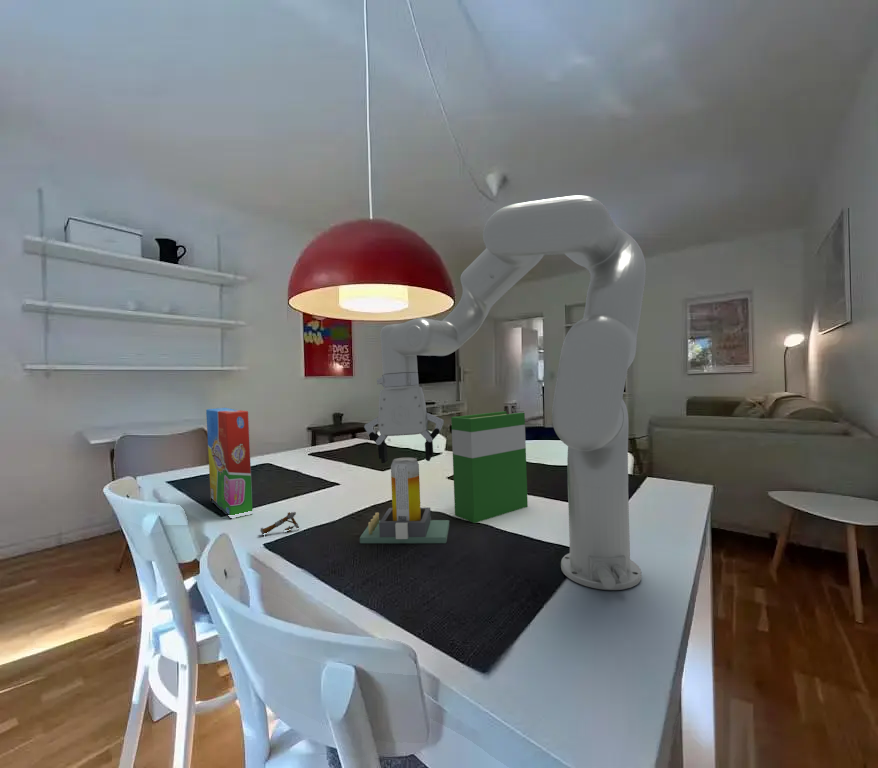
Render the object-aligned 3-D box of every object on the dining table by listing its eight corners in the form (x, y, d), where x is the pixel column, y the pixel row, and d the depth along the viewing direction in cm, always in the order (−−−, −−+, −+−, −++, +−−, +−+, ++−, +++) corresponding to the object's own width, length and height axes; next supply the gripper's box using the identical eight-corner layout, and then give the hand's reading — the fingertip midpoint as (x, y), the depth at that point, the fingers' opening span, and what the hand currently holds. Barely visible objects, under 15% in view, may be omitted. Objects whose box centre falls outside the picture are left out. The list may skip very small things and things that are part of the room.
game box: (210, 503, 119) (205, 409, 119) (230, 498, 123) (226, 407, 122) (231, 520, 104) (225, 412, 103) (253, 514, 107) (248, 410, 107)
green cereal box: (507, 500, 111) (504, 411, 111) (527, 506, 105) (524, 412, 105) (454, 514, 101) (451, 417, 101) (474, 523, 95) (470, 419, 95)
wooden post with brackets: (303, 527, 94) (294, 510, 94) (269, 547, 92) (259, 530, 91) (303, 524, 96) (294, 508, 95) (269, 544, 94) (260, 527, 93)
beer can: (422, 523, 93) (420, 456, 93) (419, 533, 87) (416, 462, 86) (396, 523, 93) (393, 457, 93) (390, 533, 87) (387, 463, 87)
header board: (445, 544, 84) (445, 524, 84) (358, 544, 85) (357, 524, 85) (449, 525, 94) (448, 507, 94) (372, 525, 96) (371, 507, 96)
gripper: (357, 385, 86) (362, 466, 87) (439, 379, 85) (444, 462, 85) (366, 384, 94) (371, 459, 94) (442, 379, 92) (447, 455, 92)
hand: (406, 460), depth 89 cm, fingers open, 9 cm apart
